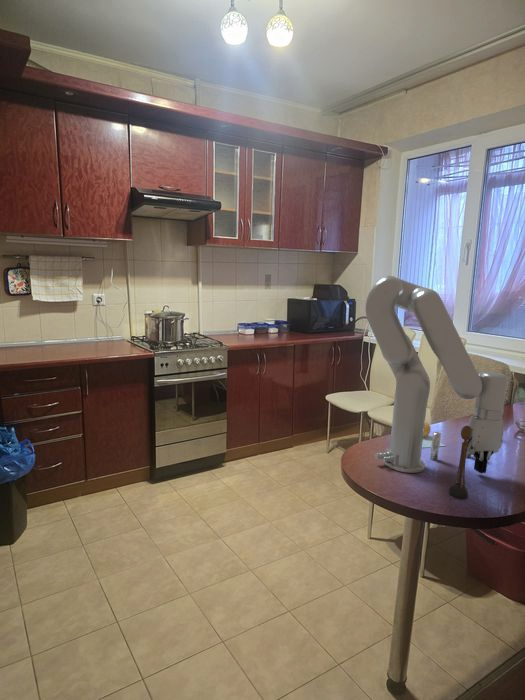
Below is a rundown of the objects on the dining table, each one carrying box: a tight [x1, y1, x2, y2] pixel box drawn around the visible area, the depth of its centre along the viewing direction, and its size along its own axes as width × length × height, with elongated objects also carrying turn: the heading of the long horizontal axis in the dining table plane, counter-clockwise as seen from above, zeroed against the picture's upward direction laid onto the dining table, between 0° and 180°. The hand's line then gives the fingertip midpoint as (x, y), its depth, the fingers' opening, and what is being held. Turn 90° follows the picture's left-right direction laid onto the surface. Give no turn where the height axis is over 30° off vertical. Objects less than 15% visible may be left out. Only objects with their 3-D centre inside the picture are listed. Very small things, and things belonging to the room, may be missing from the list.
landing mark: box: [422, 435, 446, 449], centre depth 160 cm, size 10×10×1 cm
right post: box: [466, 447, 472, 459], centre depth 148 cm, size 2×2×9 cm
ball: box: [423, 421, 432, 437], centre depth 164 cm, size 6×6×6 cm
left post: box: [429, 431, 442, 462], centre depth 144 cm, size 2×2×9 cm
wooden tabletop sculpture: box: [448, 425, 473, 500], centre depth 120 cm, size 6×5×20 cm
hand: (479, 471), depth 134 cm, fingers closed
